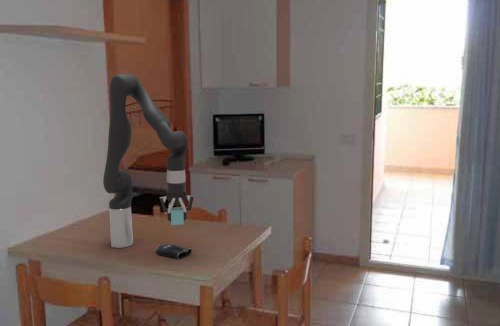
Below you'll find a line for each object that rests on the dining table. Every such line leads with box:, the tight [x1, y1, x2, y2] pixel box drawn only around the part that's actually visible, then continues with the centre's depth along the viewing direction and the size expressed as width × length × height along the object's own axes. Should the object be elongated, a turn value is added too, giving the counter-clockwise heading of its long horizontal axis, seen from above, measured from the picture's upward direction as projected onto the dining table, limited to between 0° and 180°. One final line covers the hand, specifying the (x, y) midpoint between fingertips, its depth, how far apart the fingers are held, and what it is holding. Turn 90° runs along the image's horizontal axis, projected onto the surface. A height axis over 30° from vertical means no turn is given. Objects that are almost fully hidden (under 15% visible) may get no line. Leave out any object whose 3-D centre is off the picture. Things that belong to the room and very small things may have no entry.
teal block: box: [170, 206, 185, 226], centre depth 204 cm, size 5×5×6 cm
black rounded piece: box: [155, 243, 193, 260], centre depth 208 cm, size 9×6×15 cm
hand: (177, 220), depth 204 cm, fingers closed on teal block, 5 cm apart
